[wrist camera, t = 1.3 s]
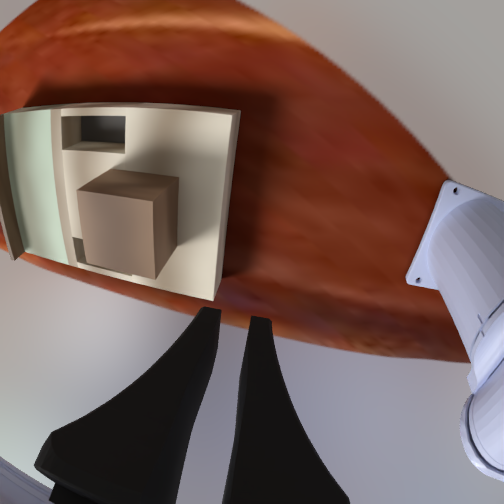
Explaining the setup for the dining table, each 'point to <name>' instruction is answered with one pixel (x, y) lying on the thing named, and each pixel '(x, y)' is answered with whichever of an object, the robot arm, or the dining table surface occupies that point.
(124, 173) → the walnut block
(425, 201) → the dining table surface
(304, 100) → the dining table surface
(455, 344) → the dining table surface
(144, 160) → the box
